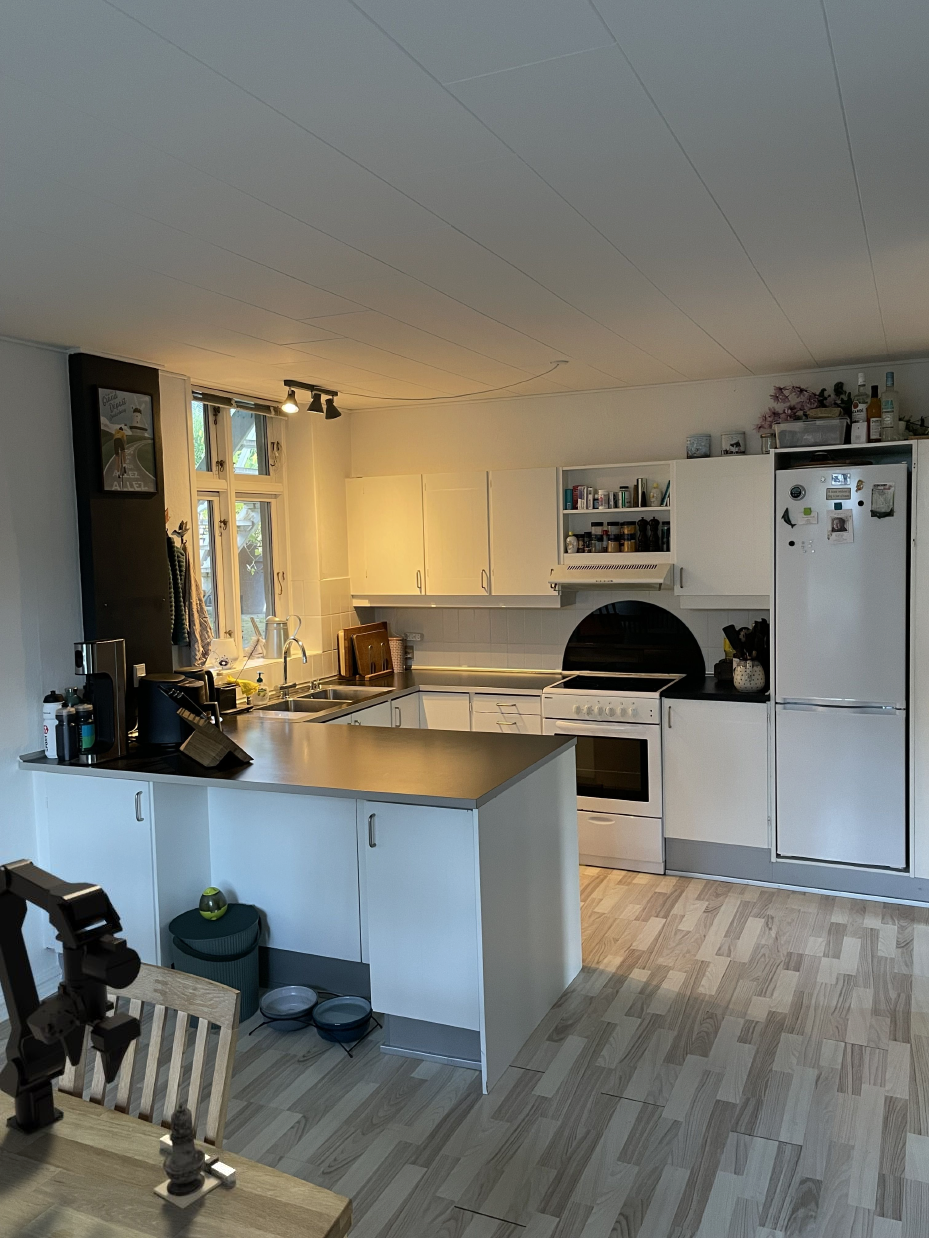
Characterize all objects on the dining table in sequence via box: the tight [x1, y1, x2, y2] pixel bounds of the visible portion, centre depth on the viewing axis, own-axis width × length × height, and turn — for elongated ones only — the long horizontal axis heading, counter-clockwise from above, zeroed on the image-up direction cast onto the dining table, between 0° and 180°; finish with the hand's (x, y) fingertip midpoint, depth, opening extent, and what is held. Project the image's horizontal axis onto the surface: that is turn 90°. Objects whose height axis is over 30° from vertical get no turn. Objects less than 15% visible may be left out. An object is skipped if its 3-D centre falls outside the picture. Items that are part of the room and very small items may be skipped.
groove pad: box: [153, 1170, 222, 1209], centre depth 139 cm, size 7×7×1 cm
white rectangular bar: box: [159, 1134, 237, 1186], centre depth 145 cm, size 16×2×2 cm, turn 53°
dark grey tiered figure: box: [162, 1103, 207, 1196], centre depth 139 cm, size 6×6×12 cm
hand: (92, 1073), depth 147 cm, fingers open, 9 cm apart
